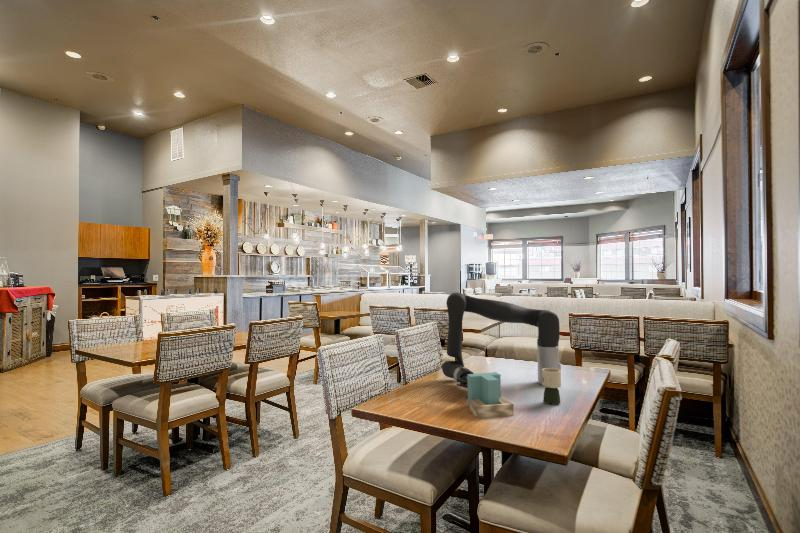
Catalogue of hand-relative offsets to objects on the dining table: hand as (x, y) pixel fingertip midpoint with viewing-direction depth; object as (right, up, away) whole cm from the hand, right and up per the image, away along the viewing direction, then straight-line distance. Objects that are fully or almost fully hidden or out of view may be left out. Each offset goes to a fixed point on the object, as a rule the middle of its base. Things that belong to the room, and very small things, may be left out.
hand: (478, 387), depth 169 cm
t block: (+2, -6, -8) cm, 10 cm away
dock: (+3, -6, -13) cm, 14 cm away
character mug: (+28, -6, -3) cm, 29 cm away
